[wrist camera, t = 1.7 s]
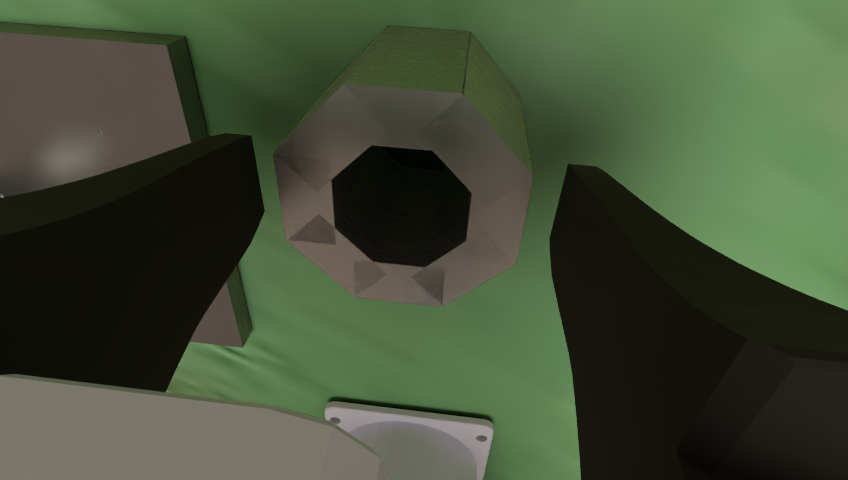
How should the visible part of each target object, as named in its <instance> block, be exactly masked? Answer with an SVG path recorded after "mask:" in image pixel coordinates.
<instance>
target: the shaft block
mask: <svg viewBox="0 0 848 480" xmlns="http://www.w3.org/2000/svg"><path fill="white" fill-rule="evenodd" d="M207 137H208V134H207V130H206V126H205V121H204V117H203V112H202V108H201V104H200V99H199V95H198V91H197V86H196V82H195V77H194V73H193V69H192V64H191V60H190V56H189V51H188V47H187V43H186V38H185V37H184V36H171V35H158V34H145V33H132V32H120V31H107V30H94V29H81V28H69V27H56V26H43V25H30V24H17V23H5V22H0V198H1V197H6V196H12V195H17V194H22V193H28V192H33V191H37V190H42V189H46V188H50V187H54V186H58V185H62V184H66V183H70V182H74V181H78V180H81V179H85V178H88V177H92V176H95V175H99V174H102V173H105V172H108V171H111V170H114V169H117V168H120V167H123V166H126V165H129V164H132V163H135V162H138V161H141V160H144V159H147V158H150V157H153V156H156V155H158V154H161V153H164V152H167V151H169V150H172V149H175V148H178V147H181V146H183V145H186V144H189V143H192V142H195V141H198V140H201V139H204V138H207ZM251 332H252V327H251V322H250V318H249V314H248V309H247V305H246V300H245V296H244V292H243V287H242V283H241V279H240V274H239V270H238V265H237V266H236V267H235V269H234V270H233V272H232V273H231V275H230V276H229V278H228V279H227V281H226V282H225V284H224V285H223V287H222V289H221V290H220V292H219V293H218V295H217V296H216V298H215V299H214V301H213V302H212V304H211V305H210V307H209V308H208V310H207V311H206V313H205V314H204V316H203V318H202V319H201V321H200V323H199V325H198V326H197V328H196V330H195V332H194V334H193V336H192V338H191V340H190V342H199V343H207V344H216V345H225V346H233V347H242V348H243V346H244V344H245V343H246V341H247V339H248V337H249V335H250V333H251Z"/></svg>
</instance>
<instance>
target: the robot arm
mask: <svg viewBox="0 0 848 480" xmlns="http://www.w3.org/2000/svg"><path fill="white" fill-rule="evenodd" d="M264 211H265V210H264V205H263V199H262V193H261V188H260V182H259V176H258V171H257V165H256V159H255V153H254V148H253V142H252V136H250V135H239V134H228V133H225V134H219V135H215V136H211V137H207V138H204V139H201V140H198V141H195V142H192V143H189V144H186V145H183V146H181V147H178V148H175V149H172V150H169V151H167V152H164V153H161V154H158V155H156V156H153V157H150V158H147V159H144V160H141V161H138V162H135V163H132V164H129V165H126V166H123V167H120V168H117V169H114V170H111V171H108V172H105V173H102V174H99V175H95V176H92V177H88V178H85V179H81V180H78V181H74V182H70V183H66V184H62V185H58V186H54V187H50V188H46V189H42V190H37V191H33V192H28V193H22V194H17V195H12V196H6V197H1V198H0V480H483V477H484V473H485V468H486V464H487V460H488V455H489V451H490V447H491V442H492V438H493V433H494V426H493V424H492V422H490V421H489V420H486V419H479V418H471V417H462V416H454V415H446V414H437V413H429V412H421V411H413V410H404V409H396V408H388V407H380V406H371V405H363V404H355V403H347V402H338V401H332V402H329V403H328V404H327V405H326V408H325V420H324V419H321V418H317V417H314V416H310V415H306V414H303V413H299V412H296V411H292V410H288V409H285V408H281V407H278V406H273V405H265V404H256V403H248V402H240V401H232V400H224V399H216V398H207V397H199V396H191V395H183V394H175V393H167V392H166V390H167V388H168V385H169V383H170V381H171V379H172V377H173V375H174V372H175V370H176V368H177V366H178V364H179V362H180V360H181V358H182V356H183V354H184V352H185V350H186V348H187V346H188V344H189V342H190V340H191V338H192V336H193V334H194V332H195V330H196V328H197V326H198V325H199V323H200V321H201V319H202V318H203V316H204V314H205V313H206V311H207V310H208V308H209V307H210V305H211V304H212V302H213V301H214V299H215V298H216V296H217V295H218V293H219V292H220V290H221V289H222V287H223V285H224V284H225V282H226V281H227V279H228V278H229V276H230V275H231V273H232V272H233V270H234V269H235V267H236V266H237V264H238V263H239V261H240V259H241V258H242V256H243V255H244V253H245V252H246V250H247V248H248V247H249V245H250V243H251V241H252V239H253V237H254V235H255V233H256V231H257V228H258V226H259V223H260V221H261V219H262V216H263V214H264ZM550 258H551V271H552V278H553V283H554V288H555V293H556V297H557V302H558V307H559V311H560V316H561V320H562V325H563V329H564V334H565V338H566V343H567V347H568V352H569V357H570V363H571V368H572V375H573V385H574V395H575V405H576V416H577V428H578V440H579V453H580V468H581V480H848V311H847V310H845V309H842V308H839V307H837V306H834V305H831V304H829V303H826V302H824V301H821V300H818V299H816V298H814V297H811V296H809V295H806V294H804V293H802V292H799V291H797V290H794V289H792V288H790V287H787V286H785V285H783V284H781V283H779V282H777V281H775V280H772V279H770V278H768V277H766V276H764V275H762V274H760V273H757V272H755V271H753V270H751V269H749V268H747V267H745V266H743V265H741V264H739V263H737V262H735V261H734V260H732V259H730V258H728V257H726V256H725V255H723V254H721V253H719V252H718V251H716V250H714V249H712V248H710V247H709V246H707V245H705V244H703V243H702V242H700V241H699V240H697V239H695V238H694V237H692V236H691V235H689V234H688V233H686V232H685V231H683V230H682V229H680V228H679V227H677V226H676V225H674V224H673V223H671V222H670V221H668V220H667V219H666V218H664V217H663V216H661V215H660V214H659V213H657V212H656V211H655V210H653V209H652V208H651V207H649V206H648V205H647V204H645V203H644V202H643V201H641V200H640V199H639V198H638V197H636V196H635V195H634V194H633V193H631V192H630V191H629V190H628V189H626V188H625V187H624V186H623V185H621V184H620V183H619V182H617V181H616V180H615V179H614V178H612V177H611V176H610V175H608V174H607V173H606V172H604V171H603V170H601V169H600V168H598V167H596V166H584V165H573V164H568V167H567V171H566V175H565V179H564V183H563V187H562V191H561V195H560V199H559V203H558V207H557V211H556V215H555V219H554V223H553V227H552V231H551V235H550Z"/></svg>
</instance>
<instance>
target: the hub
mask: <svg viewBox="0 0 848 480" xmlns="http://www.w3.org/2000/svg"><path fill="white" fill-rule="evenodd" d="M383 146H384V147H396V148H407V149H418V150H429V151H433V152H434V153H435V154H436V155H437V156H438V157H439V158H440V159H441V160H442V161H443V162H444V164H445V165H446V167H445V168H443V169H442V170H435V169H424V168H413V167H403V166H402V165H401V164H400V163H399V162H398V161H397V160H396V159H395V158H394V157H393V156H392V155H391V154H390V153H389V152H388V151H387V150H386V149H385V148H384V147H383ZM273 156H274V163H275V170H276V176H277V183H278V190H279V197H280V203H281V210H282V217H283V224H284V230H285V237H286V240H287V242H289V243H290V244H291V245H292V246H293V247H295V248H296V249H297V250H298V251H299V252H301V253H302V254H303V255H304V256H305V257H307V258H308V259H309V260H310V261H311V262H313V263H314V264H315V265H316V266H317V267H319V268H320V269H321V270H322V271H323V272H325V273H326V274H327V275H328V276H330V277H331V278H332V279H333V280H334V281H336V282H337V283H338V284H339V285H340V286H342V287H343V288H344V289H345V290H346V291H348V292H349V293H350V294H351V295H352V296H354V297H357V298H366V299H375V300H384V301H393V302H403V303H412V304H421V305H430V306H440V307H442V306H445V305H447V304H448V303H450V302H452V301H454V300H455V299H457V298H459V297H460V296H462V295H464V294H466V293H467V292H469V291H471V290H472V289H474V288H476V287H478V286H479V285H481V284H483V283H484V282H486V281H488V280H490V279H491V278H493V277H495V276H496V275H498V274H500V273H502V272H503V271H505V270H507V269H508V268H510V267H512V266H514V265H515V264H516V263H517V258H518V253H519V248H520V243H521V238H522V233H523V228H524V224H525V219H526V214H527V209H528V204H529V199H530V194H531V189H532V184H533V179H534V177H533V171H532V165H531V159H530V153H529V147H528V141H527V135H526V129H525V123H524V117H523V111H522V105H521V99H520V94H519V93H518V92H517V90H516V89H515V88H514V87H513V85H512V84H511V83H510V81H509V80H508V79H507V78H506V76H505V75H504V74H503V73H502V71H501V70H500V69H499V68H498V66H497V65H496V64H495V62H494V61H493V60H492V59H491V57H490V56H489V55H488V54H487V52H486V51H485V50H484V48H483V47H482V46H481V45H480V43H479V42H478V41H477V40H476V38H475V37H474V36H473V34H472V33H470V32H465V31H452V30H439V29H425V28H412V27H399V26H387V27H386V28H385V29H384V30H383V31H382V32H381V33H380V34H379V35H378V36H377V37H376V38H375V39H374V40H373V41H372V42H371V43H370V44H369V45H368V46H367V47H366V48H365V49H364V50H363V51H362V52H361V53H360V54H359V55H358V56H357V57H356V58H355V59H354V60H353V61H352V62H351V63H350V64H349V65H348V66H347V67H346V68H345V69H344V70H343V71H342V72H341V73H340V74H339V75H338V76H337V77H336V78H335V80H334V81H333V82H332V83H331V84H330V86H329V87H328V88H327V89H326V90H325V92H324V93H323V94H322V95H321V96H320V98H319V99H318V100H317V101H316V102H315V104H314V105H313V106H312V107H311V108H310V110H309V111H308V112H307V113H306V114H305V116H304V117H303V118H302V119H301V121H300V122H299V123H298V124H297V125H296V127H295V128H294V129H293V130H292V131H291V133H290V134H289V135H288V136H287V137H286V139H285V140H284V141H283V142H282V143H281V145H280V146H279V147H278V148H277V149H276V151H275V152H274V154H273Z"/></svg>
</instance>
